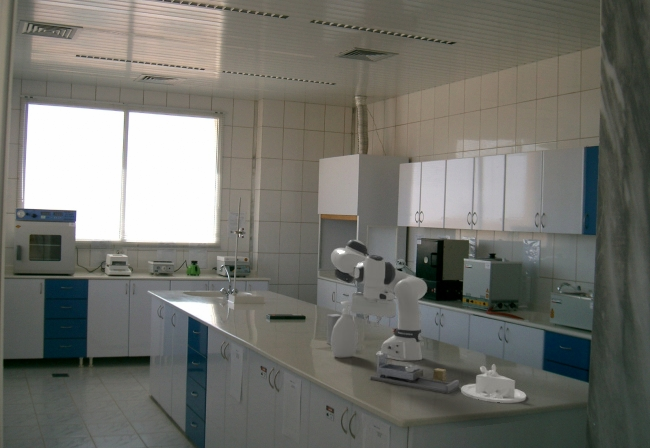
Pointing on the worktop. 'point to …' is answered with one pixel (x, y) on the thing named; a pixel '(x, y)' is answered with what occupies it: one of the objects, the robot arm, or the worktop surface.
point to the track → (421, 383)
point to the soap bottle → (344, 335)
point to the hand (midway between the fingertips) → (372, 326)
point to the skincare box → (331, 325)
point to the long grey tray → (395, 370)
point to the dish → (493, 388)
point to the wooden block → (439, 374)
